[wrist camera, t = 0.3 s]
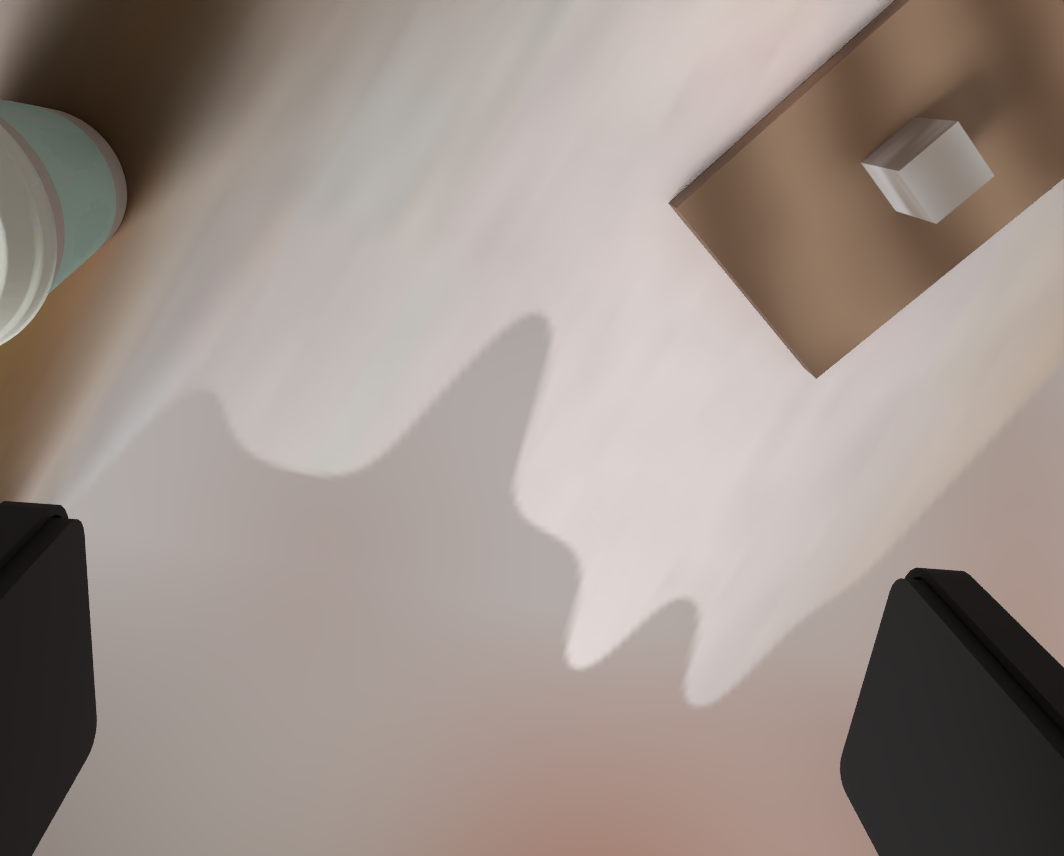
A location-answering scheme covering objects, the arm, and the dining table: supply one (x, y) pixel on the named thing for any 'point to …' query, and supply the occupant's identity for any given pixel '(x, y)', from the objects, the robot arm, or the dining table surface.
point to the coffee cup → (50, 204)
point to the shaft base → (833, 205)
